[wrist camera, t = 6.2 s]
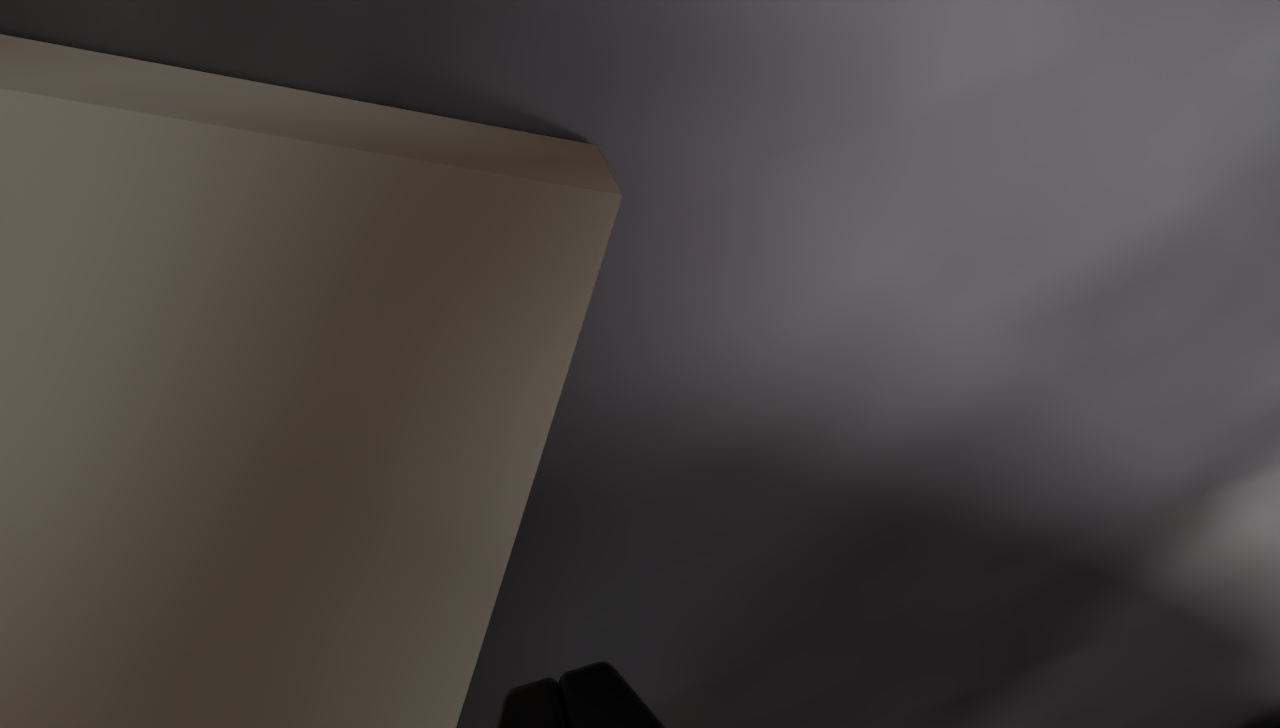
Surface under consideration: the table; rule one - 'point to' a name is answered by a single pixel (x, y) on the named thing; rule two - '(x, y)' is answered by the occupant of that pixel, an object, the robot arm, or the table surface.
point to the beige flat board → (267, 391)
